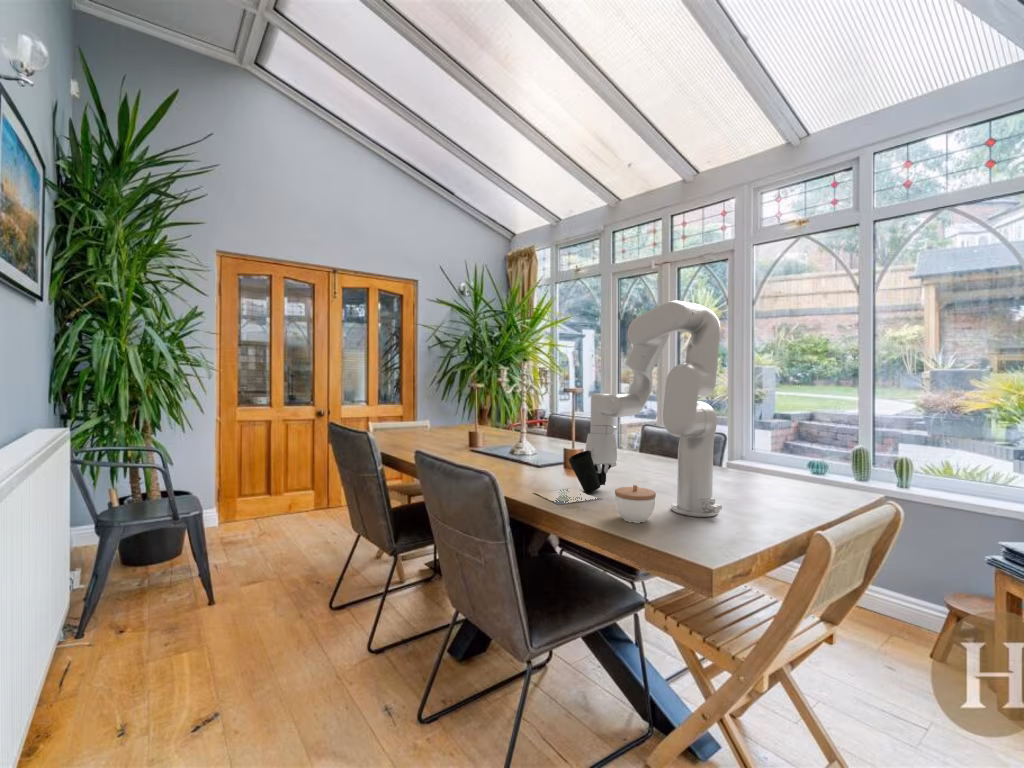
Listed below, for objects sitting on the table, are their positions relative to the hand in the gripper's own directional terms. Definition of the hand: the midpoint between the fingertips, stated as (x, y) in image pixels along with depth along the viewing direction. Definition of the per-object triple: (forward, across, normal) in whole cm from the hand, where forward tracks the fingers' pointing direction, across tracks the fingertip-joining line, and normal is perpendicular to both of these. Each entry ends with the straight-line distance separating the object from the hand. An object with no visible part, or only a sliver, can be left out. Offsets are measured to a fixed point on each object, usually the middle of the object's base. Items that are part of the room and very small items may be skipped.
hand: (601, 484), depth 169 cm
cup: (+1, +4, +2) cm, 5 cm away
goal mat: (+2, +14, +5) cm, 15 cm away
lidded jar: (+2, +6, +33) cm, 34 cm away
